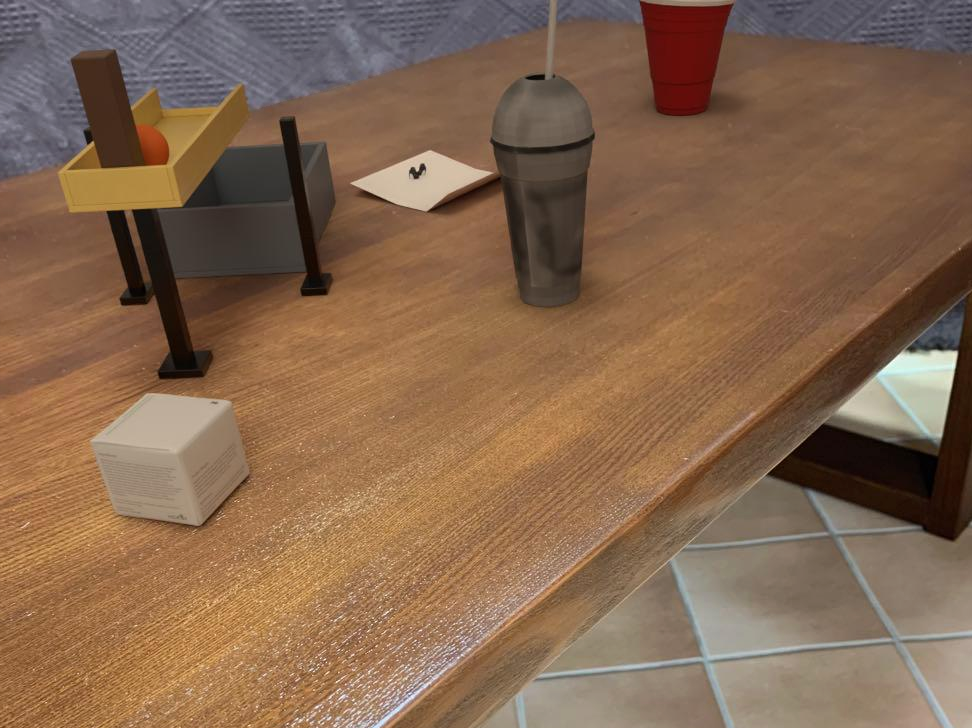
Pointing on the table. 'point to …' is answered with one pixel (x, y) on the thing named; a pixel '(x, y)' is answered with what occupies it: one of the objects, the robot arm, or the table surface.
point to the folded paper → (425, 181)
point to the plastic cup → (684, 50)
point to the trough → (116, 147)
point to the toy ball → (153, 145)
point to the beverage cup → (544, 179)
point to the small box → (171, 458)
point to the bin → (247, 214)
